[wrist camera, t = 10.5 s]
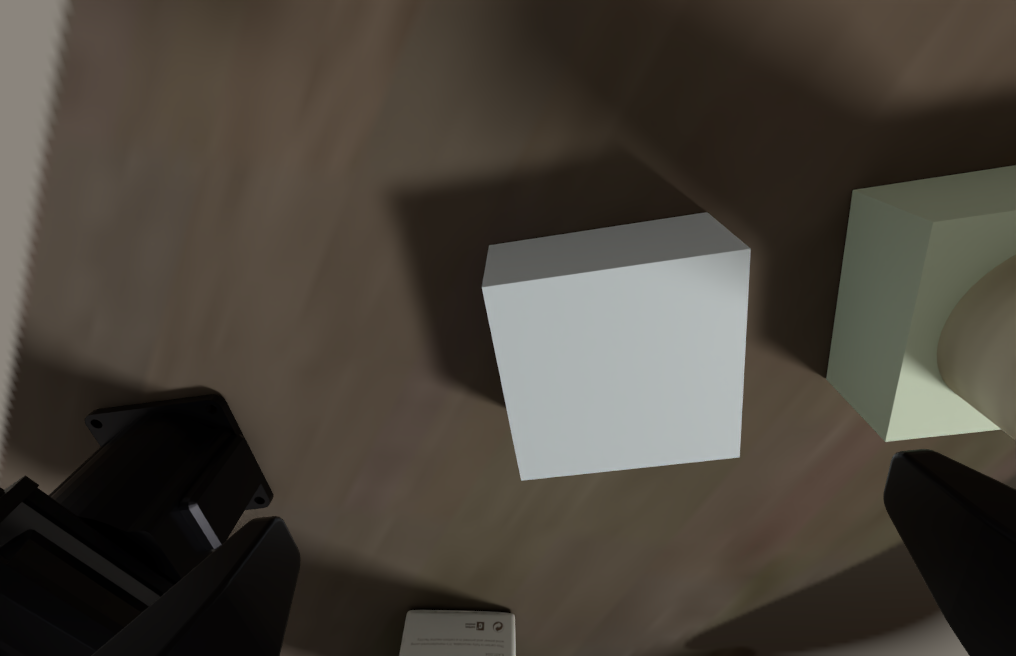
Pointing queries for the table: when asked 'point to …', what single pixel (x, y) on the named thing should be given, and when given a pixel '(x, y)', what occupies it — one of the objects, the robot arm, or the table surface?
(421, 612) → the skincare box
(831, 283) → the table surface
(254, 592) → the robot arm
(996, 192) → the sage block
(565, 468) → the blue-grey block
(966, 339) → the birch cylinder
